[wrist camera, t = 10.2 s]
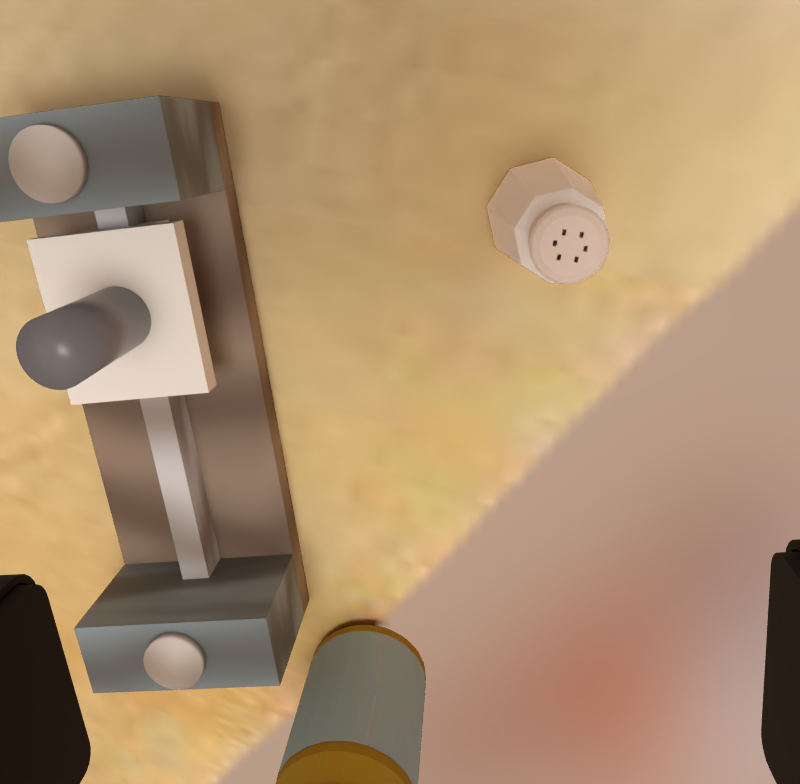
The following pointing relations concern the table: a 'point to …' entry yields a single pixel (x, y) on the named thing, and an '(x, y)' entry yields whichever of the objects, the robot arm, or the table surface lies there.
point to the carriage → (117, 315)
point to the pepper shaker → (550, 222)
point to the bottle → (358, 712)
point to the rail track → (175, 409)
